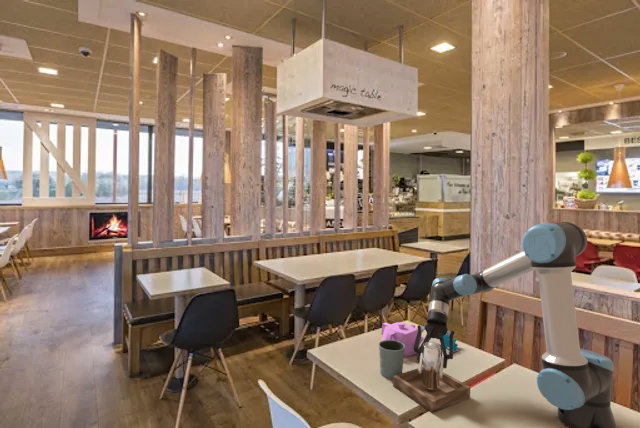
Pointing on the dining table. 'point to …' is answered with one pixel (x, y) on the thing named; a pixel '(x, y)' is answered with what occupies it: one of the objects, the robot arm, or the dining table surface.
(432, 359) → the beer glass
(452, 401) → the tray
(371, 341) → the dining table surface
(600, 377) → the robot arm
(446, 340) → the teal spiky toy
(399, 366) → the grey green cup
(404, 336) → the teakettle
